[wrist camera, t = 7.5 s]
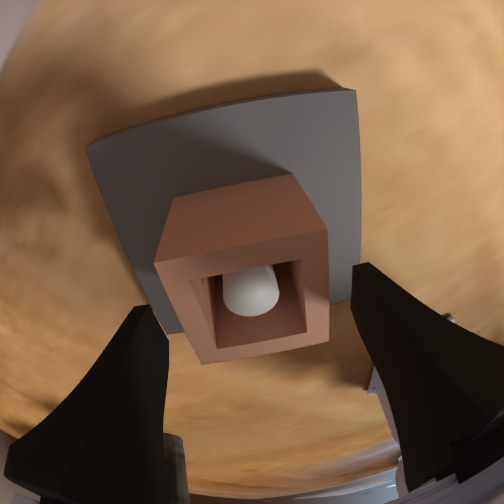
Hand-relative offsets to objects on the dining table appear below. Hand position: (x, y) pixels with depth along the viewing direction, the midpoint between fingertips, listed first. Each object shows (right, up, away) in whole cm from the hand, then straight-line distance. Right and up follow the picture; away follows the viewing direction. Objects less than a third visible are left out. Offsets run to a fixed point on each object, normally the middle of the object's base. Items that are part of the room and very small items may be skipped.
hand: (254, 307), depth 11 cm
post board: (-1, +4, +5) cm, 7 cm away
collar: (0, +3, +4) cm, 5 cm away
